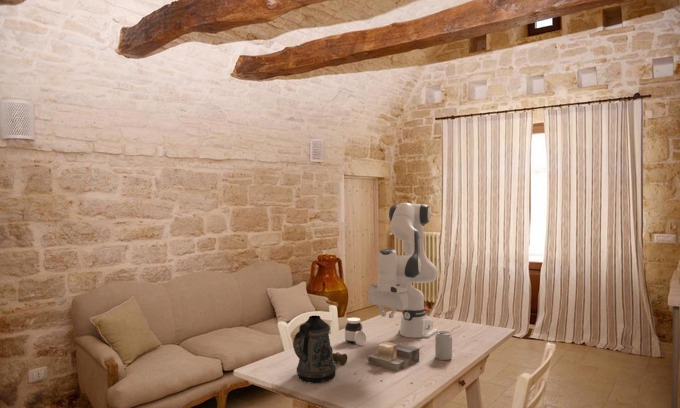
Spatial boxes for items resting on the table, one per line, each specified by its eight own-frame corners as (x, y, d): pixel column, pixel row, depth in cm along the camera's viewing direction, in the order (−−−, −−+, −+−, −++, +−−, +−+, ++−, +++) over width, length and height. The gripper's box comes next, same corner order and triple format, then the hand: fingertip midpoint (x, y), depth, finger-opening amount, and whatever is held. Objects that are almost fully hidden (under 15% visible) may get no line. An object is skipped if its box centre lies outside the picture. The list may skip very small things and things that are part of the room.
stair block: (391, 353, 227) (391, 340, 227) (419, 361, 216) (419, 348, 216) (368, 362, 215) (368, 349, 215) (396, 371, 204) (396, 357, 204)
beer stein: (340, 370, 205) (339, 312, 205) (328, 388, 187) (328, 324, 186) (303, 367, 209) (303, 310, 209) (288, 384, 190) (288, 322, 190)
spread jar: (351, 338, 252) (351, 316, 251) (371, 340, 247) (370, 318, 246) (341, 344, 241) (341, 321, 240) (361, 347, 236) (361, 324, 236)
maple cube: (386, 341, 216) (377, 344, 212) (397, 344, 212) (388, 347, 207) (386, 354, 216) (378, 358, 212) (397, 357, 212) (388, 361, 208)
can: (441, 354, 225) (441, 329, 225) (455, 358, 220) (455, 332, 220) (432, 358, 220) (432, 332, 220) (446, 362, 215) (446, 335, 214)
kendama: (337, 369, 209) (304, 357, 222) (351, 363, 216) (318, 353, 229) (338, 355, 209) (305, 345, 221) (351, 350, 216) (319, 340, 229)
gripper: (365, 284, 216) (365, 314, 217) (401, 290, 202) (401, 322, 203) (373, 282, 221) (373, 311, 221) (410, 287, 207) (410, 319, 207)
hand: (387, 317), depth 212 cm, fingers open, 3 cm apart
